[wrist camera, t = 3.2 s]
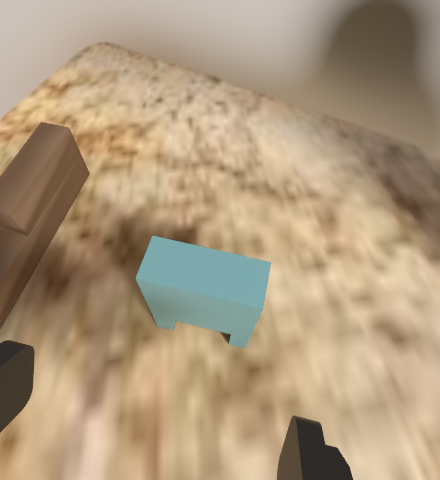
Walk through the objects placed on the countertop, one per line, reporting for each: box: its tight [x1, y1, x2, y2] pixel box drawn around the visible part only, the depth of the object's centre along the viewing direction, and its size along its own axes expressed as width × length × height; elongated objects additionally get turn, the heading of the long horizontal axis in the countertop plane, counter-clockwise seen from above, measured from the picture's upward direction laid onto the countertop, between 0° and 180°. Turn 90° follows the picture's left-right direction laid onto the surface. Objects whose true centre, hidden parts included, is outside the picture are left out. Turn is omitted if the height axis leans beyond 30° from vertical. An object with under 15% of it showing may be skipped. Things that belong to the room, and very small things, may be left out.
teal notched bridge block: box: [135, 236, 271, 348], centre depth 19 cm, size 6×2×8 cm, turn 77°
